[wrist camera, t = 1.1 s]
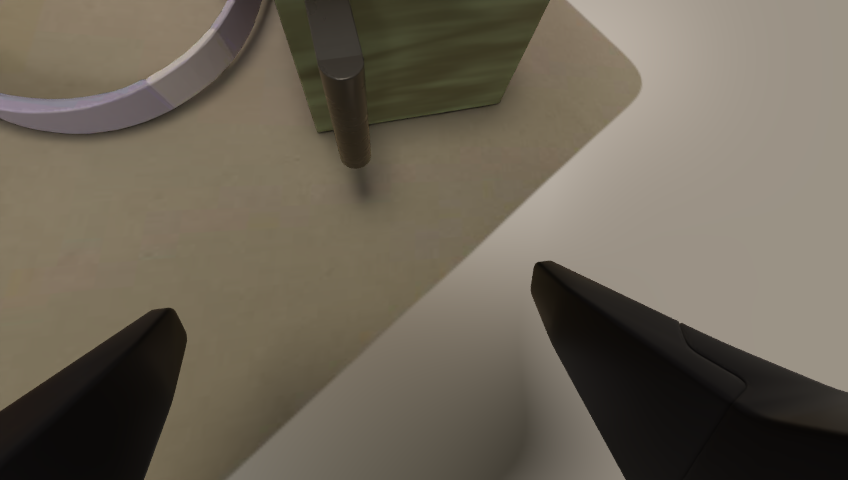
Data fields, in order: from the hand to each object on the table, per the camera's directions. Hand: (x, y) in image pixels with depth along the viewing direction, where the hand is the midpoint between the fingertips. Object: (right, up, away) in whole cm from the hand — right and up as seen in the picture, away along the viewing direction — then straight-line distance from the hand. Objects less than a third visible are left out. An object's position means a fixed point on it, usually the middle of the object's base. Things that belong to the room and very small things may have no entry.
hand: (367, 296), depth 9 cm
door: (+1, +8, +16) cm, 18 cm away
